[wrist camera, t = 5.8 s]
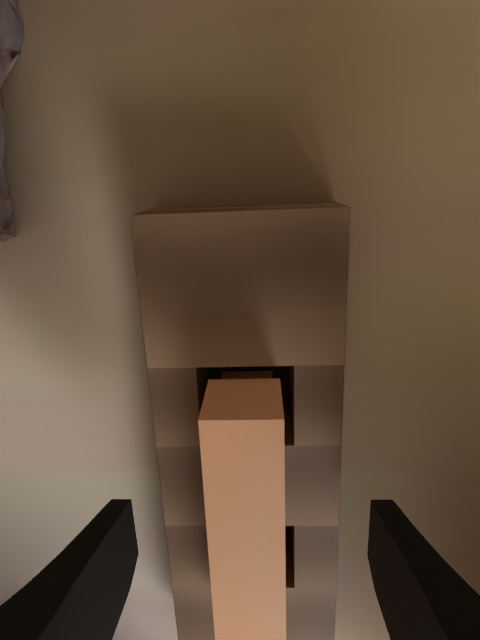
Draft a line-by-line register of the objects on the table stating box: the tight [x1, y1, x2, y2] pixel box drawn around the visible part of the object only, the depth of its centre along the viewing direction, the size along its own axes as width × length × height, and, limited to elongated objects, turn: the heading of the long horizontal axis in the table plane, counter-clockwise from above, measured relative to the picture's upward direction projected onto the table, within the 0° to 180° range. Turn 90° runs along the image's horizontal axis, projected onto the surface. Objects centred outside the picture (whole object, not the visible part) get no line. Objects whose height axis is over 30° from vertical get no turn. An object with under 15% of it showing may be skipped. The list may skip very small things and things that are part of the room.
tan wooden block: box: [198, 371, 286, 640], centre depth 15 cm, size 9×2×5 cm, turn 2°
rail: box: [130, 202, 350, 640], centre depth 16 cm, size 18×6×2 cm, turn 2°
